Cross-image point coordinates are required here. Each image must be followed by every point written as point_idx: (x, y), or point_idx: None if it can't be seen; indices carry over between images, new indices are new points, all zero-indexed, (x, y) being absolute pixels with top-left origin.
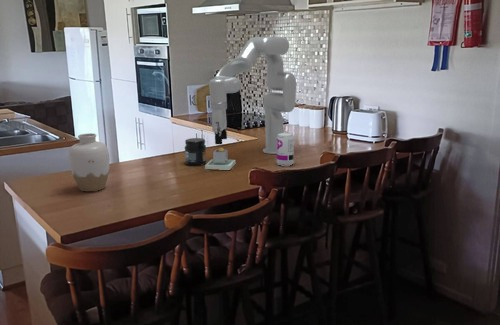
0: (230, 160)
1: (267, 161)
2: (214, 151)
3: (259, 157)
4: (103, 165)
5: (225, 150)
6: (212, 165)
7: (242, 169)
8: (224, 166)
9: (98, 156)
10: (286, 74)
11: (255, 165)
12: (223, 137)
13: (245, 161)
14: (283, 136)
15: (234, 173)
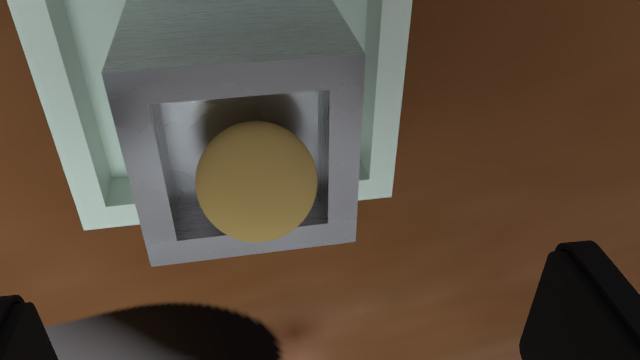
0: (370, 151)
1: (488, 341)
2: (168, 84)
3: (631, 264)
4: None
5: (294, 235)
6: (18, 7)
7: (202, 268)
8: (67, 169)
9: None
10: None
11: (360, 311)
12: (551, 336)
13: (506, 208)
14: None
15: (25, 252)
